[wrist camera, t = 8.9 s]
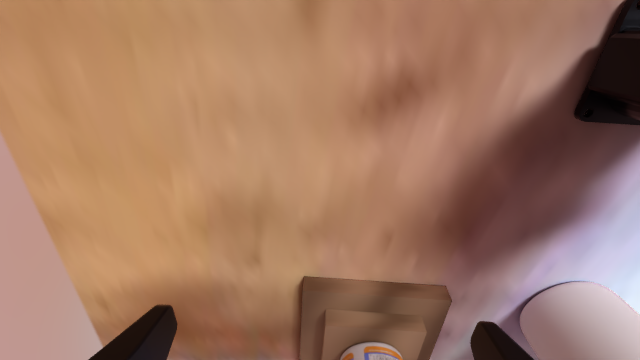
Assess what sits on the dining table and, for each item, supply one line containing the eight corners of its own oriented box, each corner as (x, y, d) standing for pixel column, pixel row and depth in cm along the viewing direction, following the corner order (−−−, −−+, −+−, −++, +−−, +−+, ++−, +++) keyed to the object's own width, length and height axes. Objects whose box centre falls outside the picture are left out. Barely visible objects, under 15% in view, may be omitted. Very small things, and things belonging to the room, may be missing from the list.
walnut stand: (445, 286, 25) (459, 317, 22) (415, 368, 30) (423, 401, 28) (304, 276, 25) (300, 306, 22) (300, 360, 30) (297, 392, 28)
